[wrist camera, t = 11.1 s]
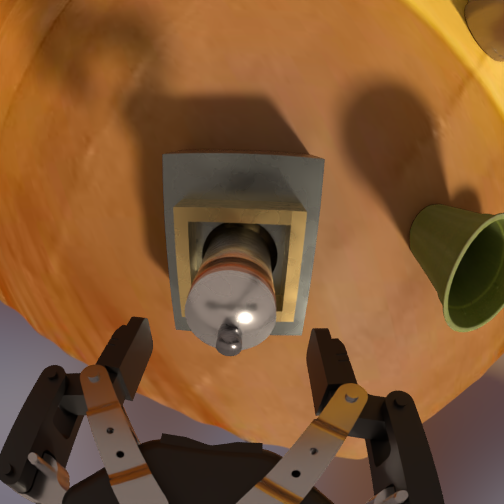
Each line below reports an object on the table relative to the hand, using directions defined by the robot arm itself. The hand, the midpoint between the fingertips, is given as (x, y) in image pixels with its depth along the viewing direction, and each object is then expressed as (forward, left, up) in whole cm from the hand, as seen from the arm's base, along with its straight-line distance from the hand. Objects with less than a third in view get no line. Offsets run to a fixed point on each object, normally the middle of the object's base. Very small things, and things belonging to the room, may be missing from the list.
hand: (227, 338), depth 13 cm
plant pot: (-1, +22, -17) cm, 28 cm away
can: (0, 0, -10) cm, 10 cm away
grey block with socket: (0, 0, -16) cm, 16 cm away
